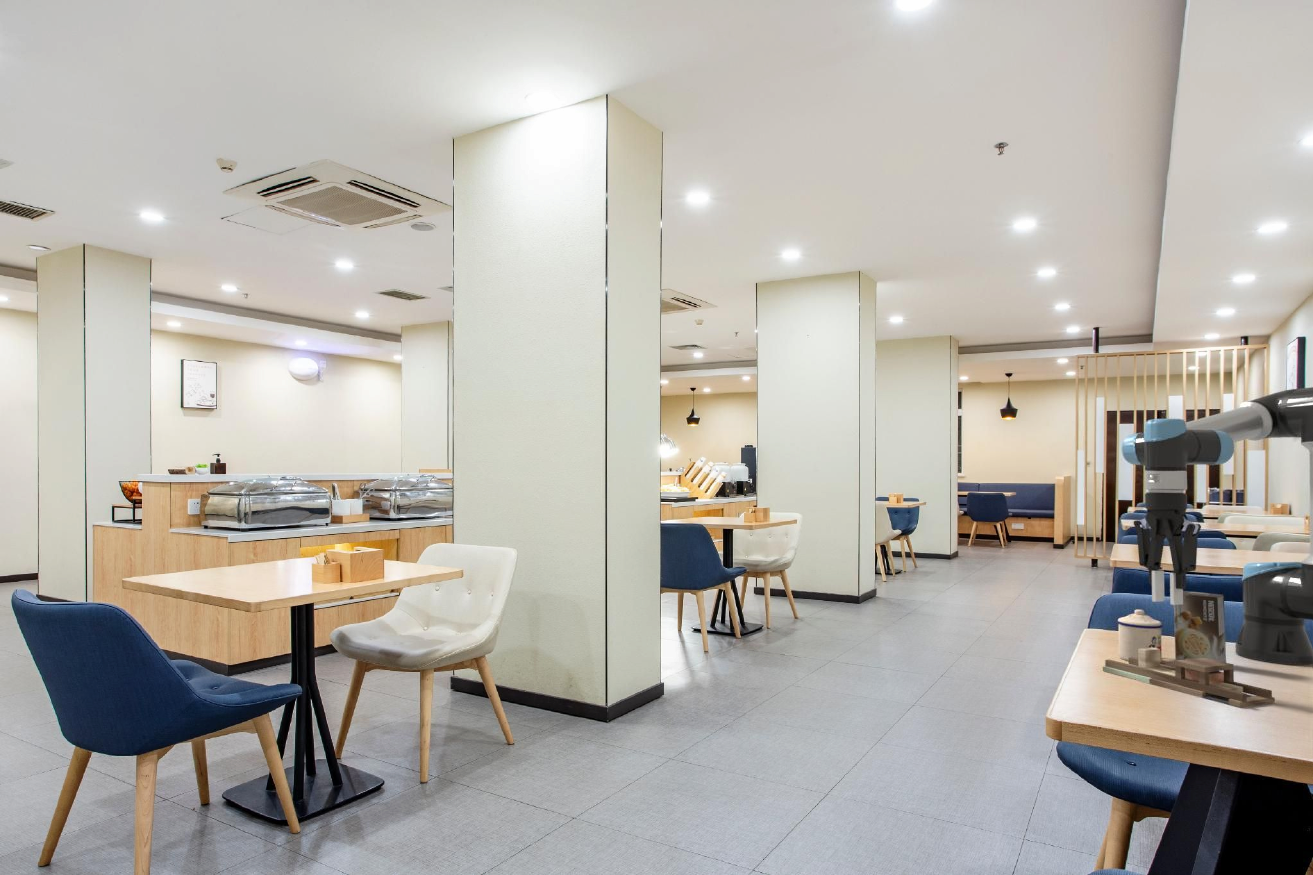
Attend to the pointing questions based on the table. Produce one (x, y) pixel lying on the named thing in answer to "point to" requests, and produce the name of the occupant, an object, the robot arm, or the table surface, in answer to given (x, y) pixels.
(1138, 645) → the teacup with lid
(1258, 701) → the tunnel board
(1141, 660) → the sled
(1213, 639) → the coffee box
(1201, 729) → the table surface
